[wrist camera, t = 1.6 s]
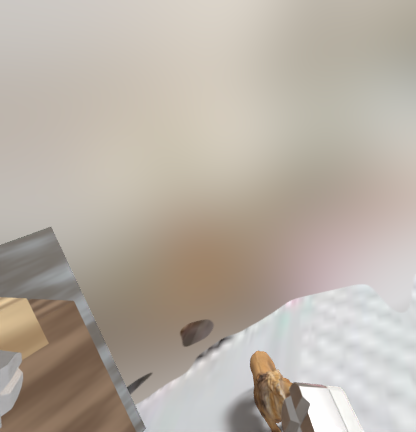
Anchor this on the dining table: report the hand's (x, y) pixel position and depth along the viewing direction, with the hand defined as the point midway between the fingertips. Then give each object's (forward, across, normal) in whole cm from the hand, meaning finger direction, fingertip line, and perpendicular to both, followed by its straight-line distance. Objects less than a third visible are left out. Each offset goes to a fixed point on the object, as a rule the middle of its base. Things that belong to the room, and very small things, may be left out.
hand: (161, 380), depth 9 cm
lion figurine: (+18, -18, +28) cm, 38 cm away
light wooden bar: (+11, +12, +12) cm, 20 cm away
